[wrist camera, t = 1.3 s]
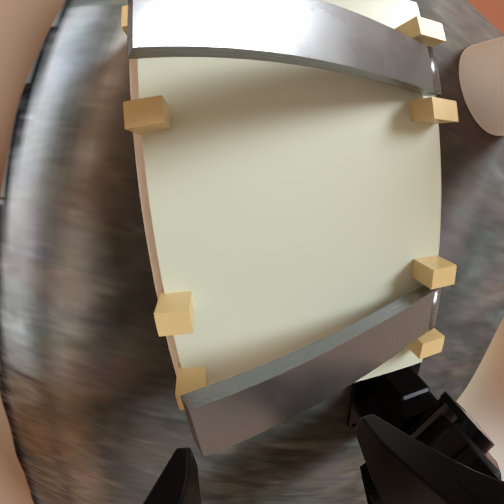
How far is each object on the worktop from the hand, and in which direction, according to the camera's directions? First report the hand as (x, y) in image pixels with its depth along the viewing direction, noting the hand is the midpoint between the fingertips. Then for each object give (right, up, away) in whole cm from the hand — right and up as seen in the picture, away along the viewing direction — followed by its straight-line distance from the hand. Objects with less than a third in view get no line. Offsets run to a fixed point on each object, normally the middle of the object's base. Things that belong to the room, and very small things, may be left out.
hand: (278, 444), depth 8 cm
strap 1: (+2, +13, +1) cm, 13 cm away
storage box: (+1, +9, +11) cm, 14 cm away
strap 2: (+3, +2, +4) cm, 5 cm away
